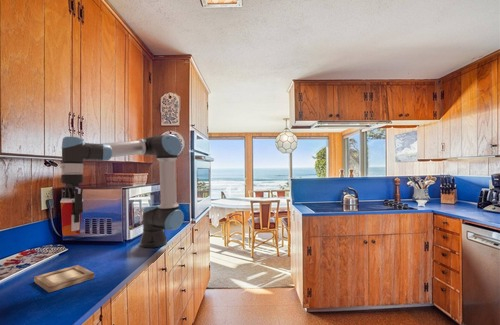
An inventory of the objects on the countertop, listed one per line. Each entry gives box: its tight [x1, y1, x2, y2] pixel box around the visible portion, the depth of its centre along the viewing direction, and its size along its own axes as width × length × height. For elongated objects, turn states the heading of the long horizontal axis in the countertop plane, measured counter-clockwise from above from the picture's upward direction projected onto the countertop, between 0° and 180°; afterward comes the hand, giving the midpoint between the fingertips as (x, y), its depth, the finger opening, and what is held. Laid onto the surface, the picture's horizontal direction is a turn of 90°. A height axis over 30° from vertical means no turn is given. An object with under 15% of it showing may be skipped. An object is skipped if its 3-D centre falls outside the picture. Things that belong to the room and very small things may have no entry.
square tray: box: [33, 264, 95, 293], centre depth 111 cm, size 16×16×2 cm
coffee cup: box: [59, 197, 84, 237], centre depth 112 cm, size 8×8×15 cm
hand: (71, 229), depth 112 cm, fingers closed on coffee cup, 7 cm apart
